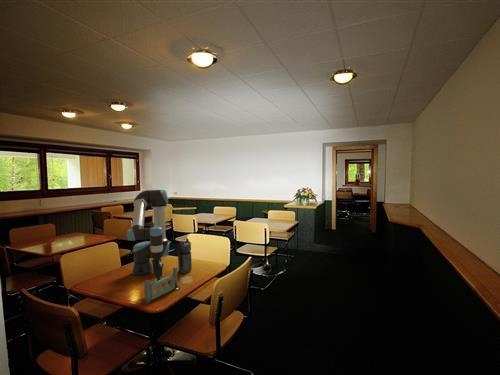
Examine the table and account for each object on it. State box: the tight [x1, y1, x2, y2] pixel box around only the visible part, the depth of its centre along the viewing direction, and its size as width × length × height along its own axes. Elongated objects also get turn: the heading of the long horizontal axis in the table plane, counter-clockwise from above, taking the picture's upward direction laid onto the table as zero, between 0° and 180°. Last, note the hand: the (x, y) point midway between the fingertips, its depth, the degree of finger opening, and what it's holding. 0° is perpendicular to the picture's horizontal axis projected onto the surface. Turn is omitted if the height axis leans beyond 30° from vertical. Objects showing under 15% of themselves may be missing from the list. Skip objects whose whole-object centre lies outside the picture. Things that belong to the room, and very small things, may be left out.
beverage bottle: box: [177, 238, 193, 274], centre depth 194 cm, size 10×13×25 cm
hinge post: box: [171, 266, 181, 292], centre depth 164 cm, size 6×6×15 cm
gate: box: [150, 274, 175, 301], centre depth 156 cm, size 17×3×9 cm, turn 148°
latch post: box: [142, 279, 152, 304], centre depth 147 cm, size 3×3×13 cm
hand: (158, 286), depth 160 cm, fingers closed
